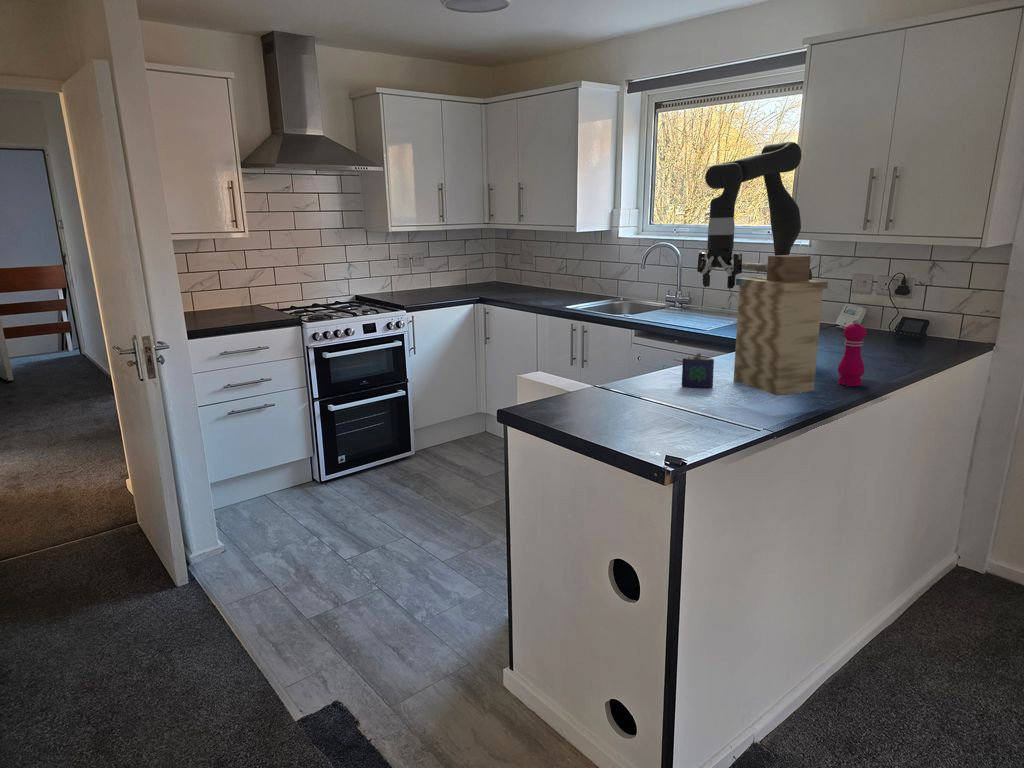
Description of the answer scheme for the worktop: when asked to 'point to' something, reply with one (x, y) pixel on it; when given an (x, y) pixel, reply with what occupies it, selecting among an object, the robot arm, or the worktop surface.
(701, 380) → the flask
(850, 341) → the pepper mill
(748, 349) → the stand
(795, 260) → the wooden mallet
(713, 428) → the worktop surface
